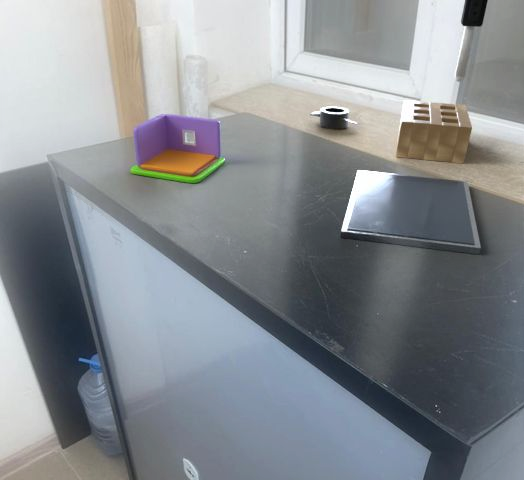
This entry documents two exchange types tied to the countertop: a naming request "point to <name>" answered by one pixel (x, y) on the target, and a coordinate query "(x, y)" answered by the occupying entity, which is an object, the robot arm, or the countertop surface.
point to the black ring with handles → (333, 117)
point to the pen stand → (433, 131)
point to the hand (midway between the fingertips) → (471, 24)
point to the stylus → (464, 53)
